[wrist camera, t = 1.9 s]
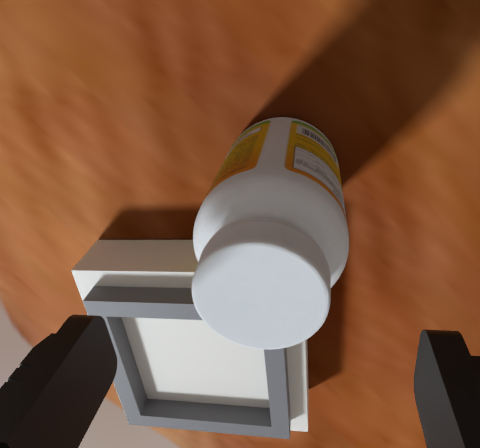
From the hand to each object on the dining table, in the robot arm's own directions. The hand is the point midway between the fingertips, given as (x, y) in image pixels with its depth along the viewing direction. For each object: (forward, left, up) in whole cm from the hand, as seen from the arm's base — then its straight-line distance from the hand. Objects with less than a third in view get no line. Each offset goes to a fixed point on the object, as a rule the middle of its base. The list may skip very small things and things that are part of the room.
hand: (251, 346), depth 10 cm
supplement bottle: (0, 0, -11) cm, 11 cm away
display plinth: (+10, -5, -11) cm, 16 cm away
